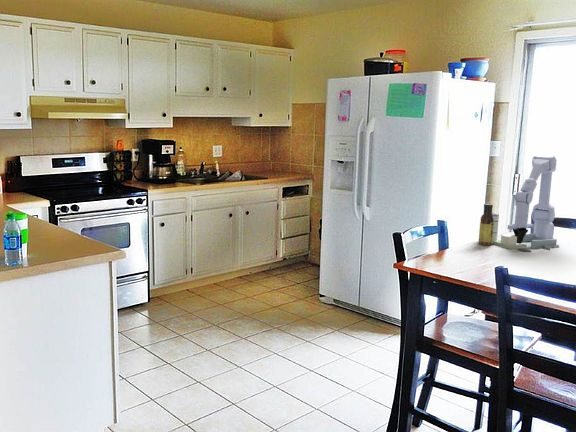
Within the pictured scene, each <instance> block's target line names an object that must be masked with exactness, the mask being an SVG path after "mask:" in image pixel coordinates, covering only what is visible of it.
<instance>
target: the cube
mask: <svg viewBox="0 0 576 432" xmlns="http://www.w3.org/2000/svg"><path fill="white" fill-rule="evenodd" d="M512 235H513V234H501V237H500V240H501V243H504V244H507V245H516V244H517V243H516V242H517V237H516V236H512Z"/></svg>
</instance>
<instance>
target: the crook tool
mask: <svg viewBox="0 0 576 432" xmlns="http://www.w3.org/2000/svg"><path fill="white" fill-rule="evenodd" d="M552 248H553V249H554V248H560V244H556V245H548V246H542V248H541V249H543V250H547V251H548V250H549V251H551V249H552Z"/></svg>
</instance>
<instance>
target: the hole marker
mask: <svg viewBox="0 0 576 432" xmlns="http://www.w3.org/2000/svg"><path fill="white" fill-rule="evenodd" d="M516 249H517V251H518V252H522V253H531V252H532V250H531V249H527V248H516Z"/></svg>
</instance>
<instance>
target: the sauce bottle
mask: <svg viewBox="0 0 576 432" xmlns="http://www.w3.org/2000/svg"><path fill="white" fill-rule="evenodd" d="M493 205H494V204H491V203H484V204H483V214H482V215H481V217H480V221H479V232H478V244H479V245H481V246H486V247H487V246H492V245H493V242H492V238H493V227H494V219H493V215H492V212H493V208H494V206H493Z"/></svg>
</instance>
